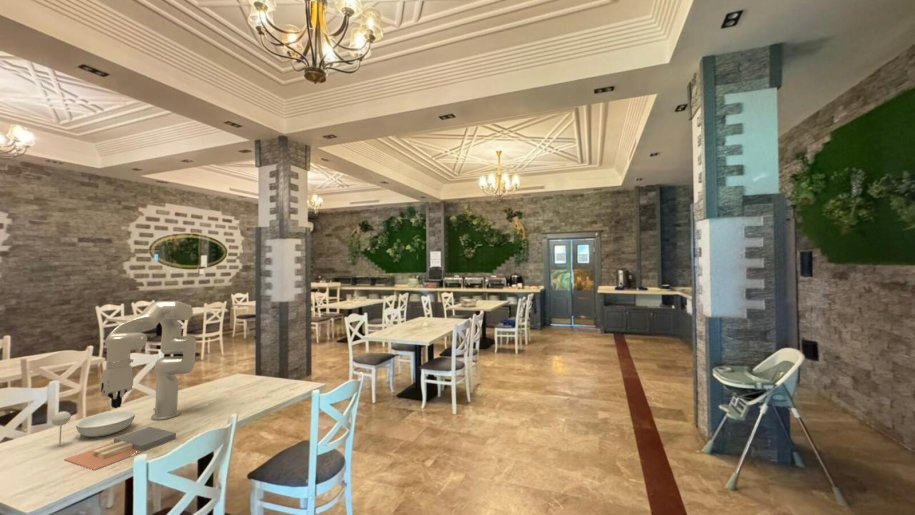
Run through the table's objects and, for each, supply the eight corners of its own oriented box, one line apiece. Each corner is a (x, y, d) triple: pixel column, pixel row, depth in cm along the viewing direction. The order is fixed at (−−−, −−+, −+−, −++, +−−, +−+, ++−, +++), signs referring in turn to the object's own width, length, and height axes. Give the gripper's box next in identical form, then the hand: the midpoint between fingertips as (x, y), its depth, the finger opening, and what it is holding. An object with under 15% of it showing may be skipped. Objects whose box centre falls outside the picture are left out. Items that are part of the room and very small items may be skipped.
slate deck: (113, 444, 165) (114, 438, 165) (149, 431, 178) (149, 426, 178) (140, 451, 158) (141, 445, 158) (175, 438, 171) (176, 433, 171)
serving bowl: (66, 445, 163) (66, 430, 164) (86, 428, 182) (87, 414, 182) (126, 436, 173) (127, 421, 173) (140, 421, 192) (141, 407, 192)
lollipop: (72, 444, 165) (74, 410, 166) (54, 450, 159) (56, 415, 160) (64, 442, 167) (66, 408, 168) (46, 447, 161) (48, 413, 162)
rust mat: (64, 460, 151) (64, 459, 151) (112, 443, 165) (112, 442, 165) (94, 470, 142) (94, 469, 142) (142, 452, 157) (142, 451, 157)
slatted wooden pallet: (92, 455, 153) (92, 450, 154) (121, 445, 163) (121, 440, 163) (103, 459, 151) (103, 454, 151) (132, 448, 160) (132, 443, 160)
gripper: (133, 360, 167) (131, 400, 167) (91, 367, 154) (88, 412, 153) (143, 361, 165) (141, 402, 164) (101, 369, 151) (99, 414, 150)
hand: (116, 407), depth 158 cm, fingers closed
